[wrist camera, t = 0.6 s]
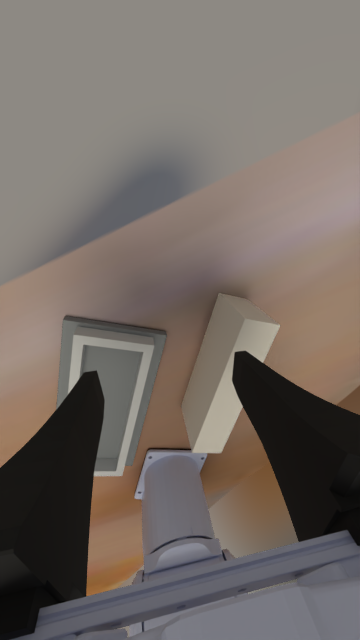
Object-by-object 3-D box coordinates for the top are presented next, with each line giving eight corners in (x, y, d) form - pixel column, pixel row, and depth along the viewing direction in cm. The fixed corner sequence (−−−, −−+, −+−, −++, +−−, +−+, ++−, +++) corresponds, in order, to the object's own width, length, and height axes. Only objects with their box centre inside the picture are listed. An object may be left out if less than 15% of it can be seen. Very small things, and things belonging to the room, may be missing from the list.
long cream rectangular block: (204, 406, 28) (221, 453, 23) (180, 405, 27) (191, 452, 22) (246, 298, 23) (280, 325, 17) (218, 292, 22) (245, 318, 17)
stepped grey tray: (132, 459, 29) (132, 478, 27) (54, 458, 27) (47, 478, 25) (165, 331, 23) (168, 343, 21) (65, 315, 20) (57, 327, 18)
